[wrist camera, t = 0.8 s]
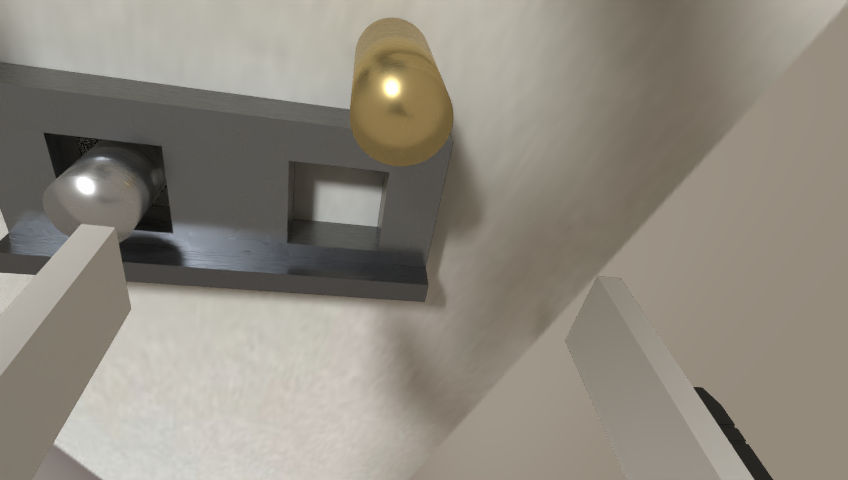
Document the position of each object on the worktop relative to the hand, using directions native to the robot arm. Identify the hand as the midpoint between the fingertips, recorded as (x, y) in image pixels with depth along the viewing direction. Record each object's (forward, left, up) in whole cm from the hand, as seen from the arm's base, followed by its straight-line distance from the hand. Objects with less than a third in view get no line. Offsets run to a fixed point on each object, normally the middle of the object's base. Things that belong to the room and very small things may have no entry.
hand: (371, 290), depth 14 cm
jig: (+7, -8, -19) cm, 22 cm away
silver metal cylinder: (+7, -14, -19) cm, 25 cm away
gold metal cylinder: (-2, +1, -19) cm, 19 cm away
